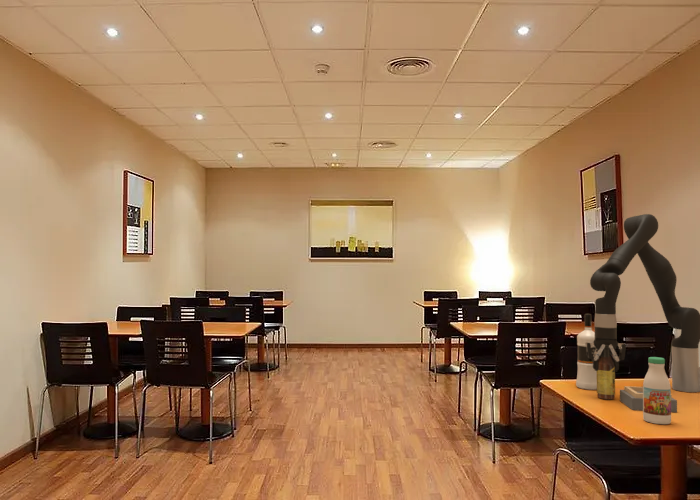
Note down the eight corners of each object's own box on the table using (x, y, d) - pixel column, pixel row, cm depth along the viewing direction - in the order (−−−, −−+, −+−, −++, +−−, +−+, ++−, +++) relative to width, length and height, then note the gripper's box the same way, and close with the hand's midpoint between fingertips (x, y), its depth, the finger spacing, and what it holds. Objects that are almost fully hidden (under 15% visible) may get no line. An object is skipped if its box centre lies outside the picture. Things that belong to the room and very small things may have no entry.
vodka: (579, 384, 229) (579, 312, 230) (603, 387, 223) (602, 313, 224) (573, 388, 221) (573, 313, 223) (597, 391, 216) (597, 315, 217)
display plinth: (661, 402, 198) (661, 387, 198) (677, 412, 184) (676, 395, 184) (619, 400, 201) (619, 385, 201) (632, 410, 187) (632, 393, 187)
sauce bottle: (617, 400, 200) (617, 346, 201) (599, 399, 202) (598, 345, 202) (612, 396, 207) (612, 343, 208) (594, 395, 208) (594, 343, 209)
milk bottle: (637, 418, 176) (637, 355, 177) (660, 418, 177) (660, 355, 177) (653, 425, 168) (652, 359, 169) (676, 424, 169) (676, 359, 170)
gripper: (622, 325, 208) (623, 370, 207) (582, 324, 210) (582, 368, 210) (629, 327, 200) (629, 373, 200) (587, 326, 203) (587, 371, 202)
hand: (605, 370), depth 205 cm, fingers closed on sauce bottle, 6 cm apart
